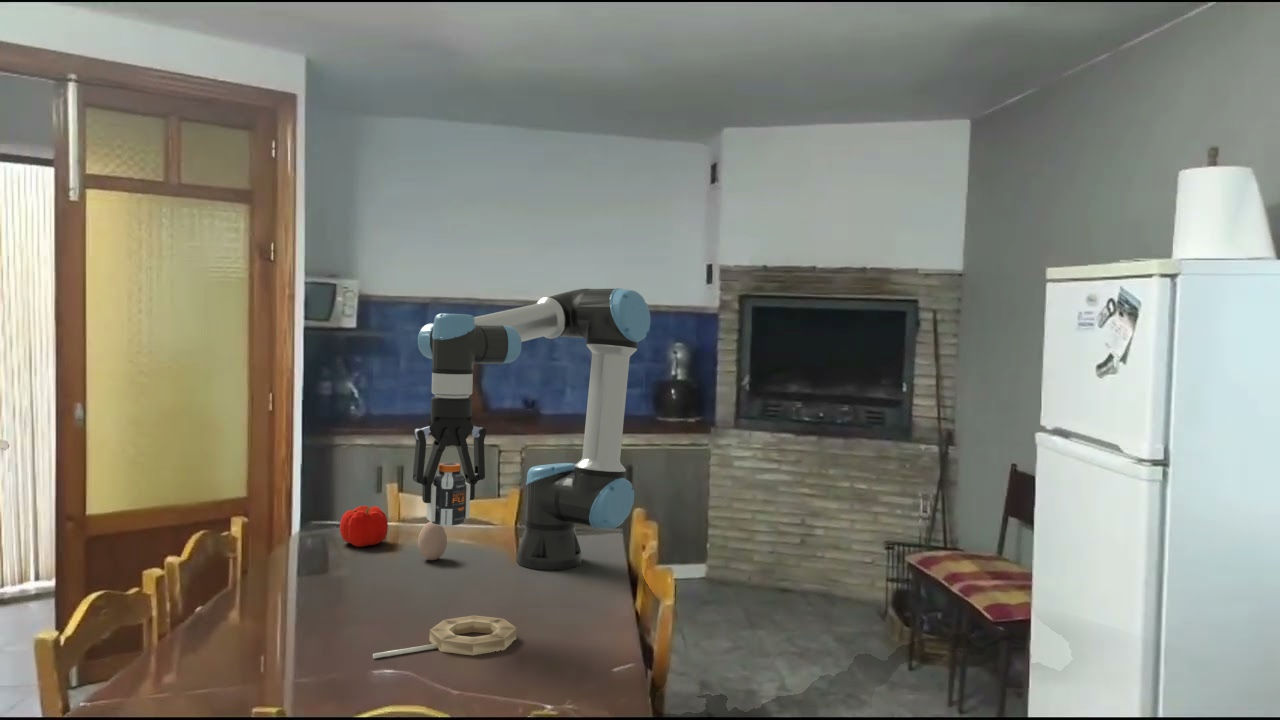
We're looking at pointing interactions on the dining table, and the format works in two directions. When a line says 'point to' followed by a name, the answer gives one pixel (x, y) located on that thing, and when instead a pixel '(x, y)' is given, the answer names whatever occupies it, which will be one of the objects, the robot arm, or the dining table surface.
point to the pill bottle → (449, 495)
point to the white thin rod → (405, 651)
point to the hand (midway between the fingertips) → (448, 518)
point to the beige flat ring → (452, 643)
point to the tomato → (364, 526)
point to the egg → (432, 541)
